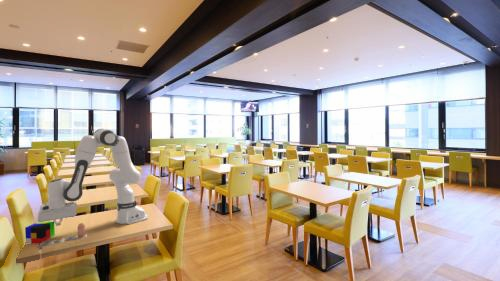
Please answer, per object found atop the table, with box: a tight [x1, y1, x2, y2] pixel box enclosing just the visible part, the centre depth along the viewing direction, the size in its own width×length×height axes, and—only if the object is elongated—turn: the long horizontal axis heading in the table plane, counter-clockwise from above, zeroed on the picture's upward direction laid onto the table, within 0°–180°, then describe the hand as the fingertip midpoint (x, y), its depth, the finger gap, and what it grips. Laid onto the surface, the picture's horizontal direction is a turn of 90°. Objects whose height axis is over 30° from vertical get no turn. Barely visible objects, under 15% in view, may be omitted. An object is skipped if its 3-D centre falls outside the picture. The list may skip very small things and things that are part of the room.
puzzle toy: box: [24, 221, 56, 245], centre depth 164 cm, size 10×10×10 cm
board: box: [37, 233, 88, 251], centre depth 162 cm, size 25×8×1 cm, turn 128°
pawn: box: [77, 222, 86, 238], centre depth 167 cm, size 4×4×8 cm
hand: (58, 225), depth 169 cm, fingers closed
